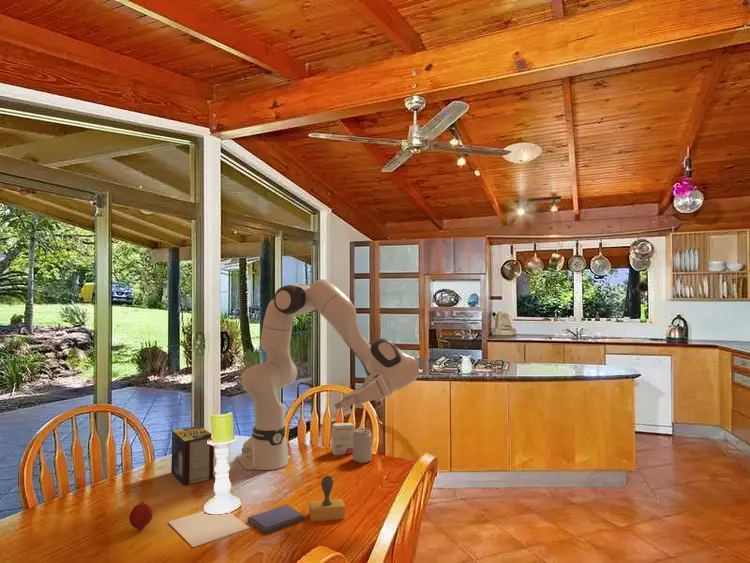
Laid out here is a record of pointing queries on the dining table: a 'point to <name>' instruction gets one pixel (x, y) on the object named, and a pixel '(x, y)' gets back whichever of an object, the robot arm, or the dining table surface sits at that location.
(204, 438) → the protein box
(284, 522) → the ink pad
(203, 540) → the paper
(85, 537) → the dining table surface
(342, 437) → the ink box
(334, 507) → the rubber stamp
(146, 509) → the onion
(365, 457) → the can
